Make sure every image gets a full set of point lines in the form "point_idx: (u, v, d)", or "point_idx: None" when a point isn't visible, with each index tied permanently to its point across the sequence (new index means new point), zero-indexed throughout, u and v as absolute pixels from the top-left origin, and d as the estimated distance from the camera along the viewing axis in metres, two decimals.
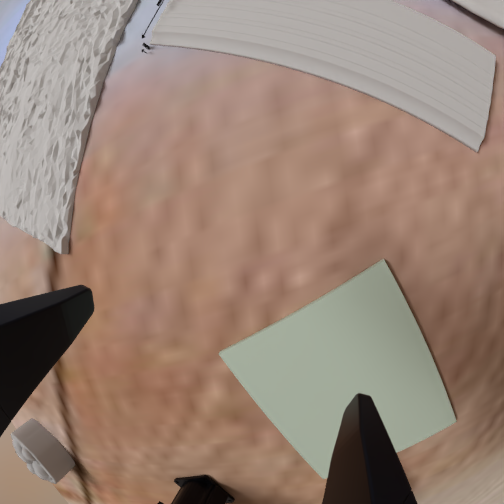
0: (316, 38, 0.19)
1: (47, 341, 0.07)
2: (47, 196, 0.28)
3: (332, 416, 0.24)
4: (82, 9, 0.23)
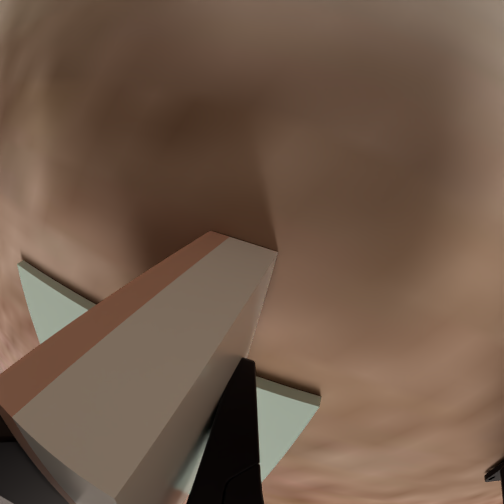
0: None
1: None
2: None
3: None
4: None
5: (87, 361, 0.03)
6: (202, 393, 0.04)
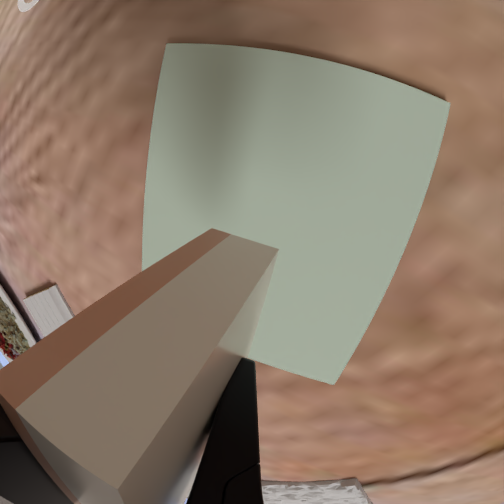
0: None
1: None
2: (323, 495, 0.30)
3: (307, 230, 0.16)
4: None
5: (90, 354, 0.03)
6: (204, 387, 0.04)
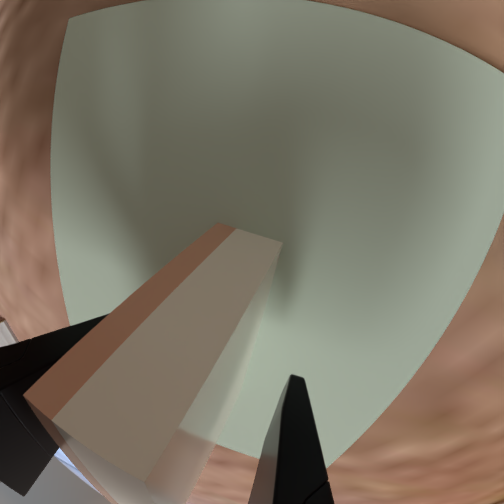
0: None
1: None
2: None
3: (278, 310, 0.09)
4: None
5: (112, 364, 0.04)
6: (214, 383, 0.05)
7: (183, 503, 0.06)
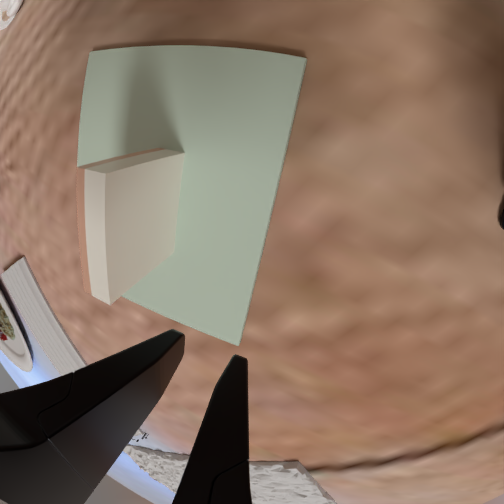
0: (69, 361, 0.34)
1: (141, 402, 0.07)
2: (272, 479, 0.32)
3: (186, 189, 0.18)
4: (168, 476, 0.43)
5: (105, 164, 0.13)
6: (137, 179, 0.14)
7: (122, 282, 0.15)
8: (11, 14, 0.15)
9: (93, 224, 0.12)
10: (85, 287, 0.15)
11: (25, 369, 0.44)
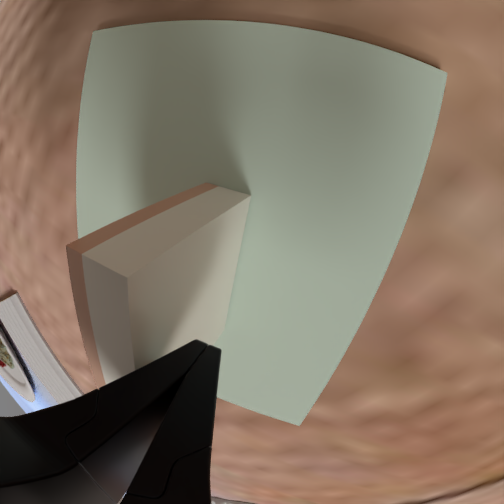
0: None
1: None
2: None
3: (251, 250, 0.12)
4: None
5: (123, 234, 0.07)
6: (184, 262, 0.08)
7: None
8: None
9: (110, 347, 0.07)
10: None
11: (27, 398, 0.39)
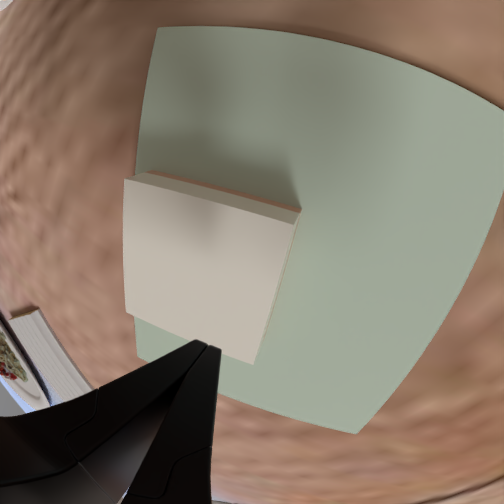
0: None
1: None
2: None
3: (344, 277, 0.12)
4: None
5: (167, 178, 0.12)
6: (170, 209, 0.11)
7: (143, 308, 0.14)
8: None
9: None
10: None
11: None
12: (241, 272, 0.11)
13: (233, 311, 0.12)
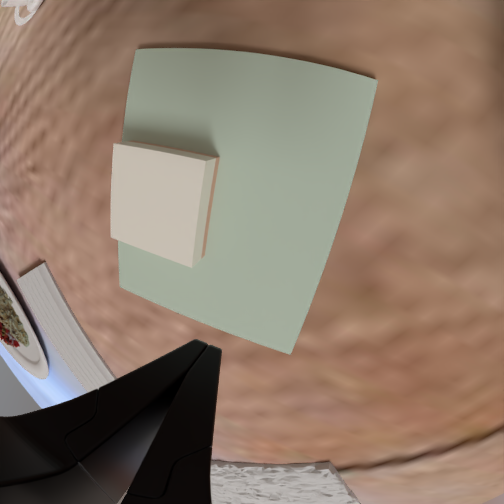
0: (91, 369, 0.34)
1: None
2: (300, 480, 0.32)
3: (251, 201, 0.18)
4: None
5: (140, 143, 0.18)
6: (139, 159, 0.17)
7: (122, 232, 0.20)
8: (32, 9, 0.15)
9: None
10: None
11: (39, 376, 0.44)
12: (179, 195, 0.17)
13: (176, 224, 0.18)
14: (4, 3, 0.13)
